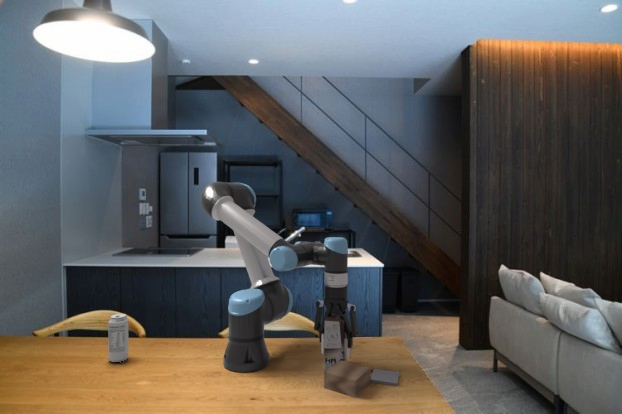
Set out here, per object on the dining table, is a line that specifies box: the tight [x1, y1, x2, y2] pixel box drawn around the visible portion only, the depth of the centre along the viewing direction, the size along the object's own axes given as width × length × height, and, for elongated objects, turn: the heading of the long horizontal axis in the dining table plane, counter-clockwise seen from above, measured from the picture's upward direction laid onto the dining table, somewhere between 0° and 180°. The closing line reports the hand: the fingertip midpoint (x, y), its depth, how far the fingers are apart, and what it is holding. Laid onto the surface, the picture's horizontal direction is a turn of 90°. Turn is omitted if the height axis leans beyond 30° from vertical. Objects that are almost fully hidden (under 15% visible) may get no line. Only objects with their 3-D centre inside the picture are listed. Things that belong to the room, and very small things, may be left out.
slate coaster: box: [371, 368, 401, 387], centre depth 120 cm, size 8×8×1 cm
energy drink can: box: [107, 313, 129, 363], centre depth 133 cm, size 6×6×15 cm
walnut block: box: [323, 360, 372, 399], centre depth 115 cm, size 10×10×5 cm
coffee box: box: [323, 314, 347, 372], centre depth 129 cm, size 9×6×16 cm
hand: (335, 354), depth 129 cm, fingers closed on coffee box, 7 cm apart
